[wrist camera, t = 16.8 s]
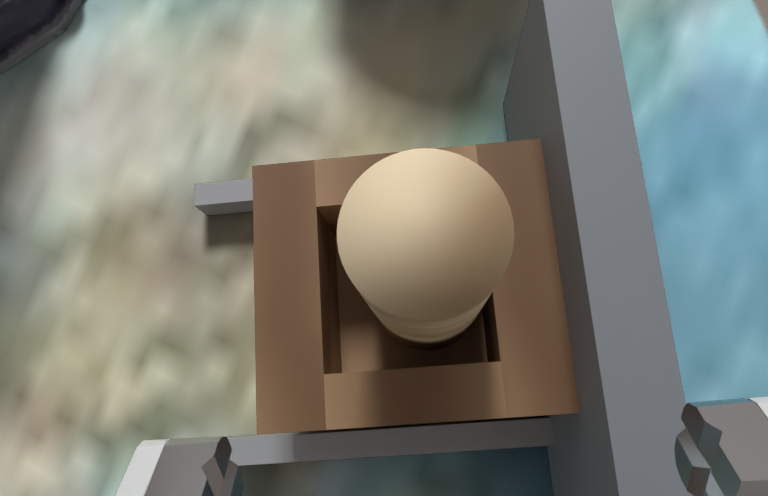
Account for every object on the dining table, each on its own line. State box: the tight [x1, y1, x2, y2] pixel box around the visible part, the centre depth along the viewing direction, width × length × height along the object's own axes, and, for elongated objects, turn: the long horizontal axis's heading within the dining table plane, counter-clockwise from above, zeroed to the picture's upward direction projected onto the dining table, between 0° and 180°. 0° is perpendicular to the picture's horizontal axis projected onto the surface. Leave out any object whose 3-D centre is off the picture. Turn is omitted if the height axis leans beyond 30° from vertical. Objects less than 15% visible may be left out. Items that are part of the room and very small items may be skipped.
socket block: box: [252, 139, 580, 435], centre depth 22 cm, size 10×9×6 cm
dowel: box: [337, 148, 514, 350], centre depth 18 cm, size 4×4×10 cm
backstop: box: [194, 0, 693, 496], centre depth 21 cm, size 16×18×9 cm
